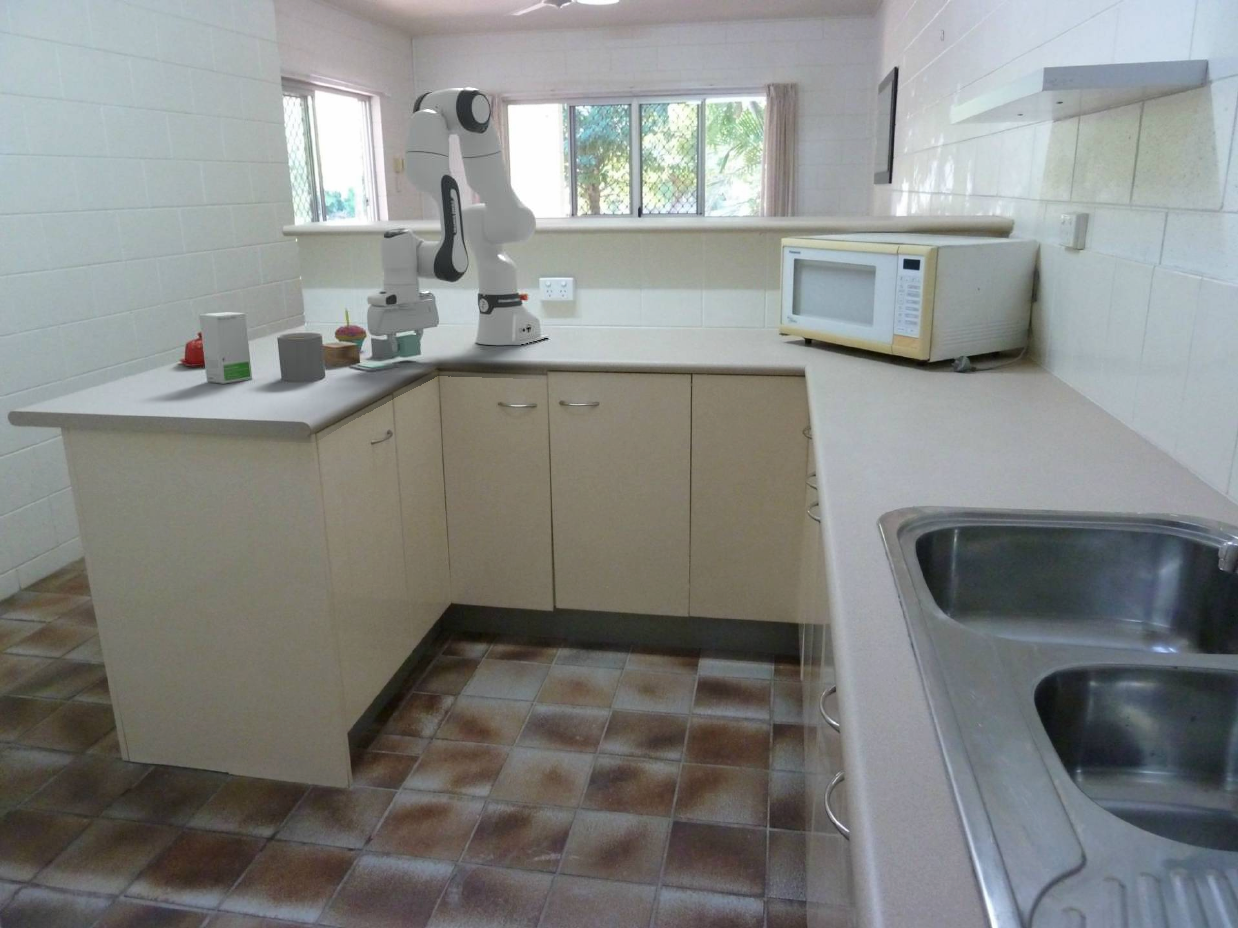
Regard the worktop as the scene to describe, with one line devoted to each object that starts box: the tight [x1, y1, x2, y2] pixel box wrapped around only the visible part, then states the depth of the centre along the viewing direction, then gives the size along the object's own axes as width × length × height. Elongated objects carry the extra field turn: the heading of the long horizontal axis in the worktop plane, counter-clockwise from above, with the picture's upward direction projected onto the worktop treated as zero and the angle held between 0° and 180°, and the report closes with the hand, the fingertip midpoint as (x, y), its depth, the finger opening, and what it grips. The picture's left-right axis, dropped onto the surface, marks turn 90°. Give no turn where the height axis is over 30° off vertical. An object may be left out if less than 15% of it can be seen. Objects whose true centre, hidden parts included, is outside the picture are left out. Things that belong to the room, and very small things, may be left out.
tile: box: [348, 360, 402, 373], centre depth 234 cm, size 9×9×1 cm
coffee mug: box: [277, 332, 326, 383], centre depth 222 cm, size 13×10×10 cm
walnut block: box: [323, 341, 361, 367], centre depth 240 cm, size 7×7×5 cm
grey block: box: [370, 335, 393, 359], centre depth 250 cm, size 5×5×5 cm
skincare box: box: [198, 311, 253, 385], centre depth 216 cm, size 8×7×16 cm
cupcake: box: [334, 308, 367, 352], centre depth 257 cm, size 9×8×12 cm
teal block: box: [393, 333, 422, 359], centre depth 242 cm, size 5×5×5 cm
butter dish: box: [178, 331, 205, 368], centre depth 238 cm, size 12×12×8 cm
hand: (406, 348), depth 242 cm, fingers closed on teal block, 5 cm apart
